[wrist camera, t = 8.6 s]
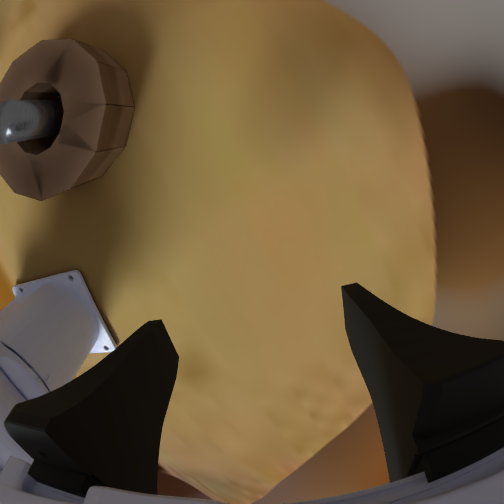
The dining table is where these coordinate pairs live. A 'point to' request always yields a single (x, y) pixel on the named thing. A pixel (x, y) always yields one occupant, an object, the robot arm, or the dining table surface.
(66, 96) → the bead
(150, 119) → the dining table surface
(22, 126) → the dark grey capsule
